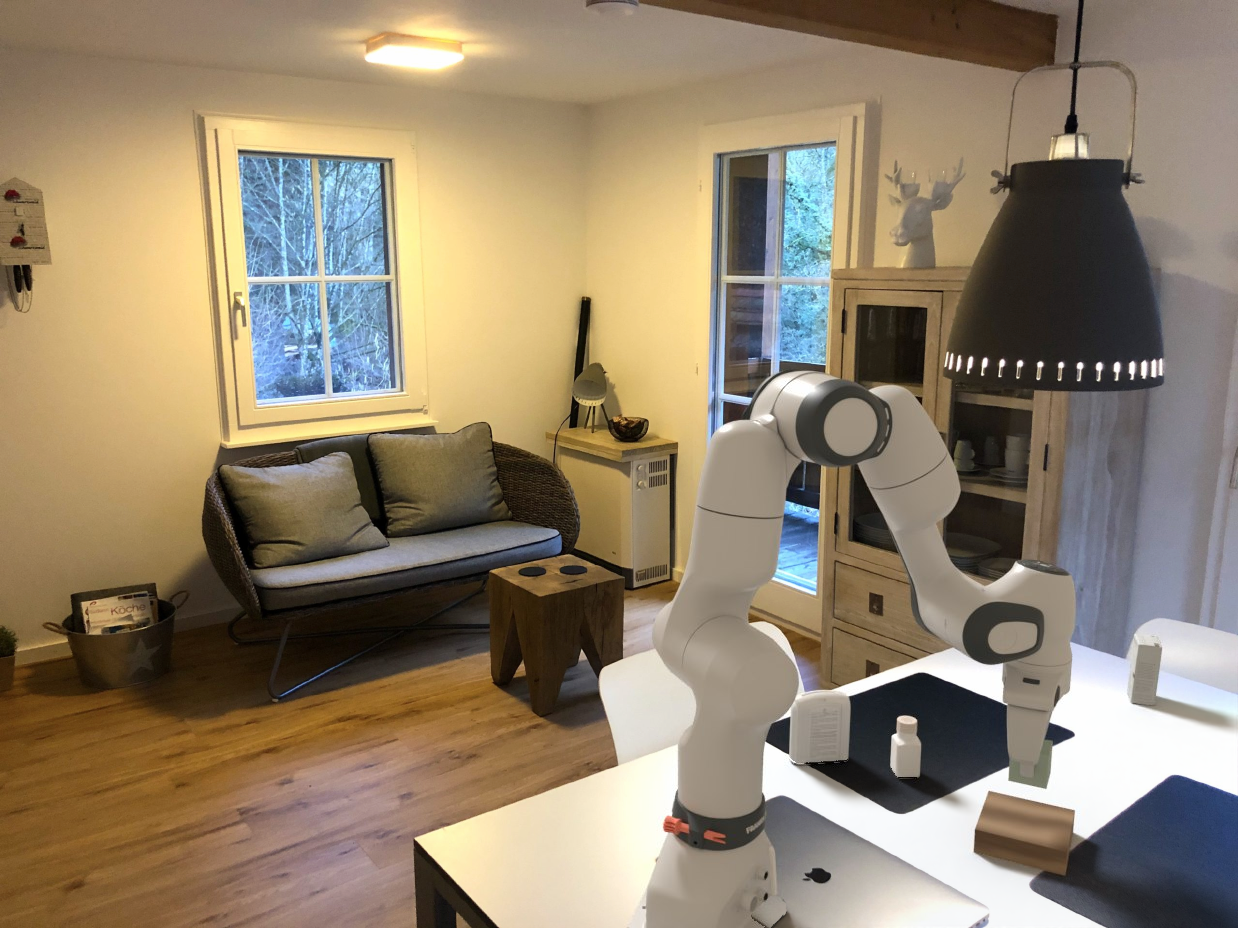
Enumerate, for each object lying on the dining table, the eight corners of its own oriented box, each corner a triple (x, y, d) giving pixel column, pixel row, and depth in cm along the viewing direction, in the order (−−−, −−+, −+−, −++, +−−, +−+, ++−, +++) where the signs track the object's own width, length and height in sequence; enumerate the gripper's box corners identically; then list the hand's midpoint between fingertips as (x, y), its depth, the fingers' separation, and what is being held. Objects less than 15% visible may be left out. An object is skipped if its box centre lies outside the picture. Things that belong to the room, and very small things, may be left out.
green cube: (1046, 788, 138) (1048, 755, 137) (1008, 780, 140) (1010, 747, 139) (1050, 772, 142) (1052, 740, 141) (1013, 765, 144) (1015, 733, 143)
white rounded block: (843, 750, 171) (845, 683, 168) (852, 762, 167) (854, 694, 164) (785, 755, 169) (787, 688, 167) (793, 767, 165) (794, 698, 163)
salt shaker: (912, 766, 165) (915, 713, 163) (920, 778, 161) (923, 724, 159) (889, 767, 165) (891, 714, 163) (896, 779, 161) (898, 725, 159)
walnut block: (1065, 878, 135) (1067, 851, 134) (973, 854, 141) (974, 829, 140) (1072, 834, 145) (1074, 809, 145) (987, 814, 151) (988, 790, 150)
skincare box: (1126, 690, 193) (1131, 632, 191) (1152, 694, 192) (1157, 634, 189) (1130, 703, 188) (1136, 643, 185) (1157, 707, 186) (1163, 646, 184)
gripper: (1022, 644, 148) (1017, 730, 151) (1000, 696, 131) (995, 791, 134) (1068, 652, 145) (1062, 738, 148) (1052, 705, 128) (1045, 803, 131)
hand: (1030, 764), depth 141 cm, fingers closed on green cube, 5 cm apart
